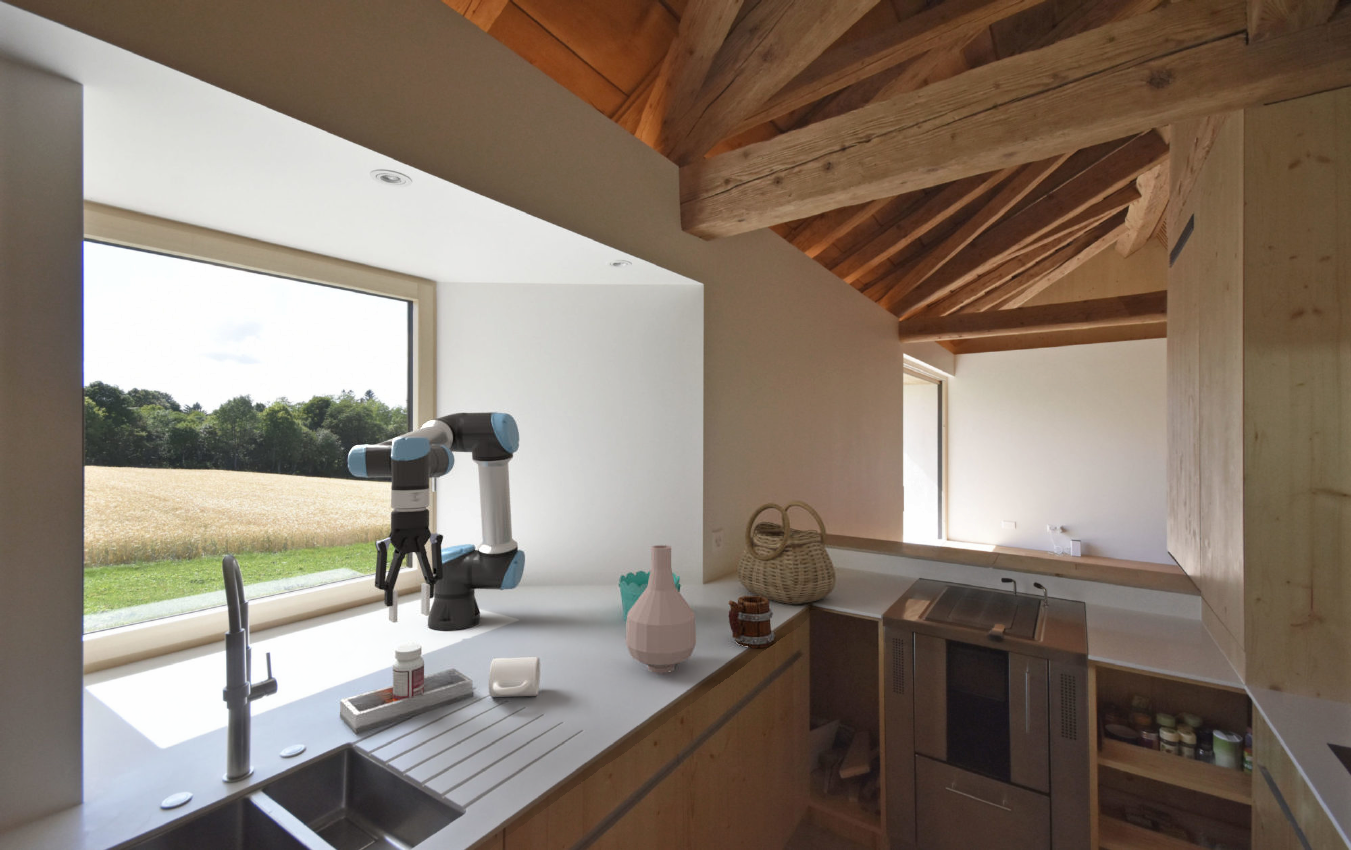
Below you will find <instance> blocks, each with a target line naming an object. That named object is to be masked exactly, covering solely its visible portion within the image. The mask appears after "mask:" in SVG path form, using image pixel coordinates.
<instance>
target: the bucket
mask: <svg viewBox="0 0 1351 850" xmlns="http://www.w3.org/2000/svg"><path fill="white" fill-rule="evenodd" d="M650 572H651V570H649V571H648V572H646V571H644V570H639V571H635V573H633V572H628V573H627V574H626V575H624V574H622V575H620V577H619V578H618V580H619V583H618V587H619V589H620V596H621V605H622V606H621V607H622V614H623V616H622V617H623V620H624V621H625V622H627V614H628V612H629V610H630V609H631V608H632V607H633V605H634V604H635V603H636V601H637V600H638V599H639V597H640V596H641V595H642V593H643V592H644V591H645V589H646V588H647V586H648V581H649V576H650ZM672 573H673V578H674V583H675V587H676V589H677V590H678V591H679V593H681V592H680V591H681V586H682V585H681V583H680V580H681V576H680V575H677V574H676V573H674V572H672Z"/></svg>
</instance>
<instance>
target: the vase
mask: <svg viewBox="0 0 1351 850" xmlns="http://www.w3.org/2000/svg"><path fill="white" fill-rule="evenodd" d="M650 550H651V556H650V557H651V558H650V560H651V561H650V562H651V565H650V567H651V568H650V571H651V572H650V576H649V581H648V586H647V588H646V589H645V591H644V592H643V593H642V595H641V596H640V597H639V599H638V600H637V601H636V603H635V604H634V605H633V607H632V608H631V609H630V610H629V612H628V614H627V621H626V624H625V625H626V626H625V629H626V632H625V644H626V646H627V649H628V652H629V655H630V656H631V657H632V659H633V660H635V661H636V662H639V663H642V664H644V665H647V669H648V671H649V672H651V673H655V674H667V673H670V672H669V671H671V672H672V671H674V670H673V669H675V666H676V665H677V664H680V663H682V662H684V661H687V660H688V659H689V658H690V657H691V656H692V655H693V652H694V649H695V647H696V645H697V633H696V631H697V627H696V613H695V611H694V610H693V608H691V606H690V604H689V603H688V602H687V601H686V599H685V598H684V596H683V595H682V594H681V592H679V591H678V590H677V589H676V587H675V583H674V578H673V573H674V572H673V569H672V546H671V545H667V544H666V545H665V544H658V545H657V544H656V545H652V546H651V549H650Z"/></svg>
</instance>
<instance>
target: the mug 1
mask: <svg viewBox="0 0 1351 850" xmlns="http://www.w3.org/2000/svg"><path fill="white" fill-rule="evenodd" d="M540 661H541V660H540V657H538V656H532V657H531V656H530V657H524V656H523V657H500V658H497V657H496V658H493V659H492V661H491V663H490V667H489V674H488V694H489V696H490V697H491V698H505V697H506V698H507V697H533V696H538V693H539V689H540V681H541V679H540V678H541V662H540Z"/></svg>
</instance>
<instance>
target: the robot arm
mask: <svg viewBox="0 0 1351 850" xmlns="http://www.w3.org/2000/svg"><path fill="white" fill-rule="evenodd" d="M519 446H520V434H519V428H518V424H517V422H516V420H515V418H514V417H513V415H511V414H509V413H506V412H497V411H495V412H488V411H487V412H457V413H451V414H448V415H447V414H446V415H443V416H441V417H438V418H435V419H433V420H432V419H431V420H429V421H427V422H426V423H424V424H423V425H422V427H421V428H417V429H415V430H413V431H409V432H407V433H404V434H401V435H399V436H396V437H394V438H391V439H388V440H385V441H382V442H379V443H376V444H368V443H365V444H357V445H354V446H353V447H352V448H351V449H350V450H349V452H348V456H347V468H348V471H349V472H350V473H351V474H352V476H354V477H358V478H367V479H369V478H391V489H390V490H391V491H390V498H391V499H390V507H391V509H393V510H392V511H391V512H390V533H389V536H388V537H387V538H384V539H381V540H380V539H378V540H376V541H375V542H374V545H375V549H376V565H375V576H374V587H375V588H377V589H378V590H382V591H384V603H383V604H384V605H385V606H386V607H388V621H390V622H392V623H398V601H399V598H398V594H399V593H398V591H399V590H397V589H395V587H396V583H397V580H398V576H399V574H400V572H401V571H400V570H401V567H402V565H403V560H404V559H405V557H406V555H407V554H410V553H415V555H416V558H417V560H418V563H419V566H420V569H421V573H422V575H423V579H424V582H423V583H421V585H420V586H421V587H420V588H421V590H420V593H421V596H420V597H421V598H420V603H421V604H420V606H421V607H420V613H421V614H422V615H424V616H426V617H427V627H428V628H430V629H431V630H437V631H455V630H463V629H467V628H470V627H474V626H476V625H478V623H480V622H481V612H480V607H479V605H478V602H477V599H476V594H475V593H476V592H475V590H497V591H498V590H500V591H504V590H514V589H516V588H517V587H518V586H519V584H520V583H521V581H522V577H523V574H524V570H525V563H526V554H525V552H524V550H522V549H519V548H518V542H517V541H516V540H514V539H513V531H512V529H513V528H512V527H513V526H512V513H511V512H512V511H511V492H510V475H509V474H510V473H509V472H510V471H509V469H510V468H509V463H510V461H511V460H513V458H514V453H516V452H517V451H518V450H519ZM453 452H455V453H471V457H472V458H471V459H472V461H473V462H474V463H476V465H477V466H478V468H477V469H478V484H479V485H478V486H479V500H480V501H479V503H480V516H481V517H480V518H481V532H482V533H481V536H482V542H481V543H480V544H479V545H478V546H477V549H476V546H475V544H473V543H472V544H471V543H467V544H466V543H465V544H459V545H453V546H449V547H445V548H442V543H443V539H444V535H442V534H440V533H437V532H436V533H432V532H431V530H430V528H429V527H430V510H429V509H428V507H429V506H430V479H433V478H438V479H439V478H441V477H444V476H445V475H447V474H449V473H450V472H451V471H452V470H453V468H454V466H455V456H454V453H453ZM428 541H429V542H430V545H431V546H430V550H431V563H432V564H430V561H429V558H428V555H427V554H428V553H427V548H426V547H425V546H426V545H427V543H428ZM390 545H392V546H393V547H394V551H393V553H392V559H391V563H390V565H389V569H388V572H387V565H388V563H387V562H388V550H389V549H390ZM518 549H519V550H518ZM431 566H432V568H431ZM431 599H433V601H432V603H431Z"/></svg>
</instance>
